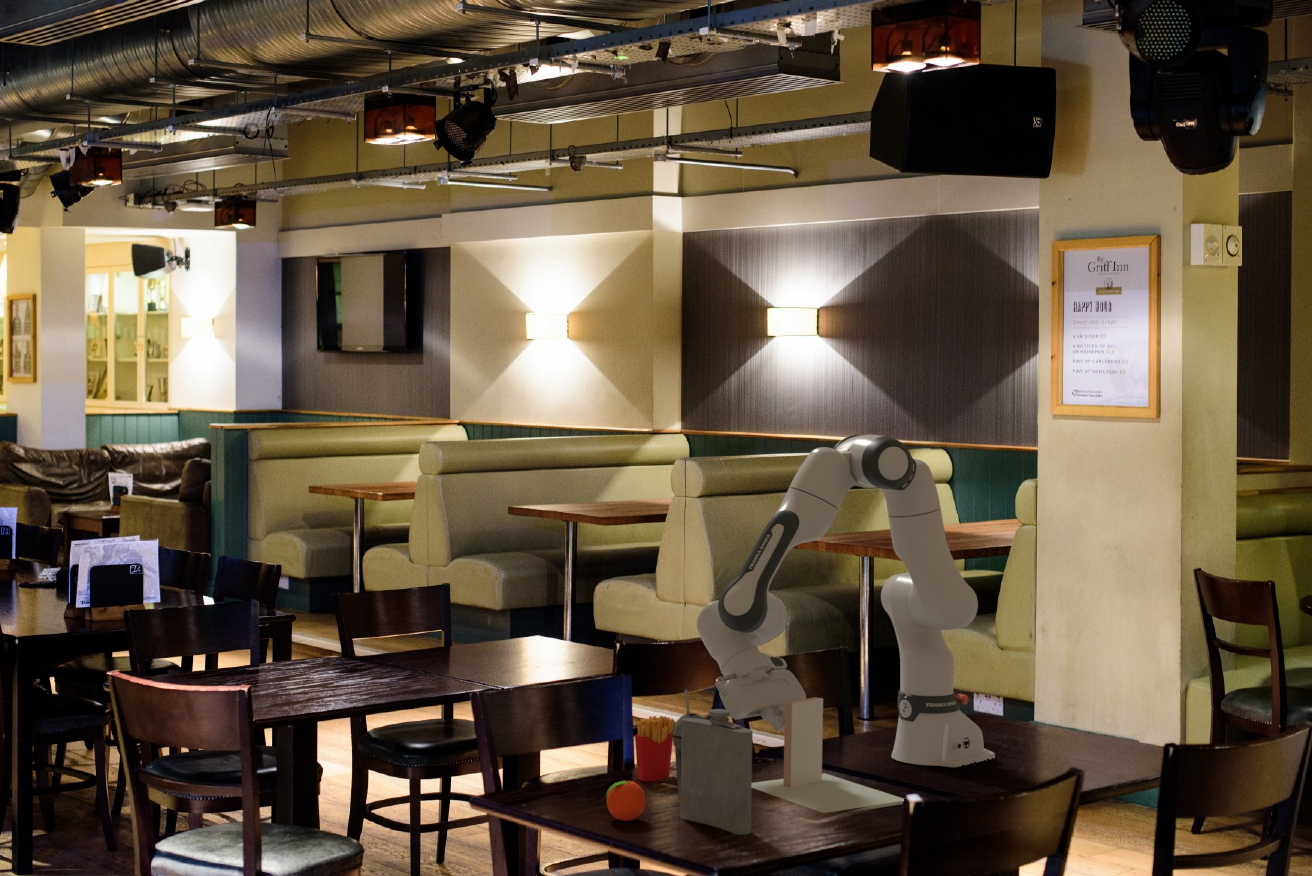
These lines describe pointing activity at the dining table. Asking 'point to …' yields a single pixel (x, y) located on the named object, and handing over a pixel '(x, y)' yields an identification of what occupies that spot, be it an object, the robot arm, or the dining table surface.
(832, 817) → the dining table surface
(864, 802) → the mat
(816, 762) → the tile
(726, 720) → the hip flask
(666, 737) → the french fries
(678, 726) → the beverage cup
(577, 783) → the dining table surface
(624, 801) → the clementine
